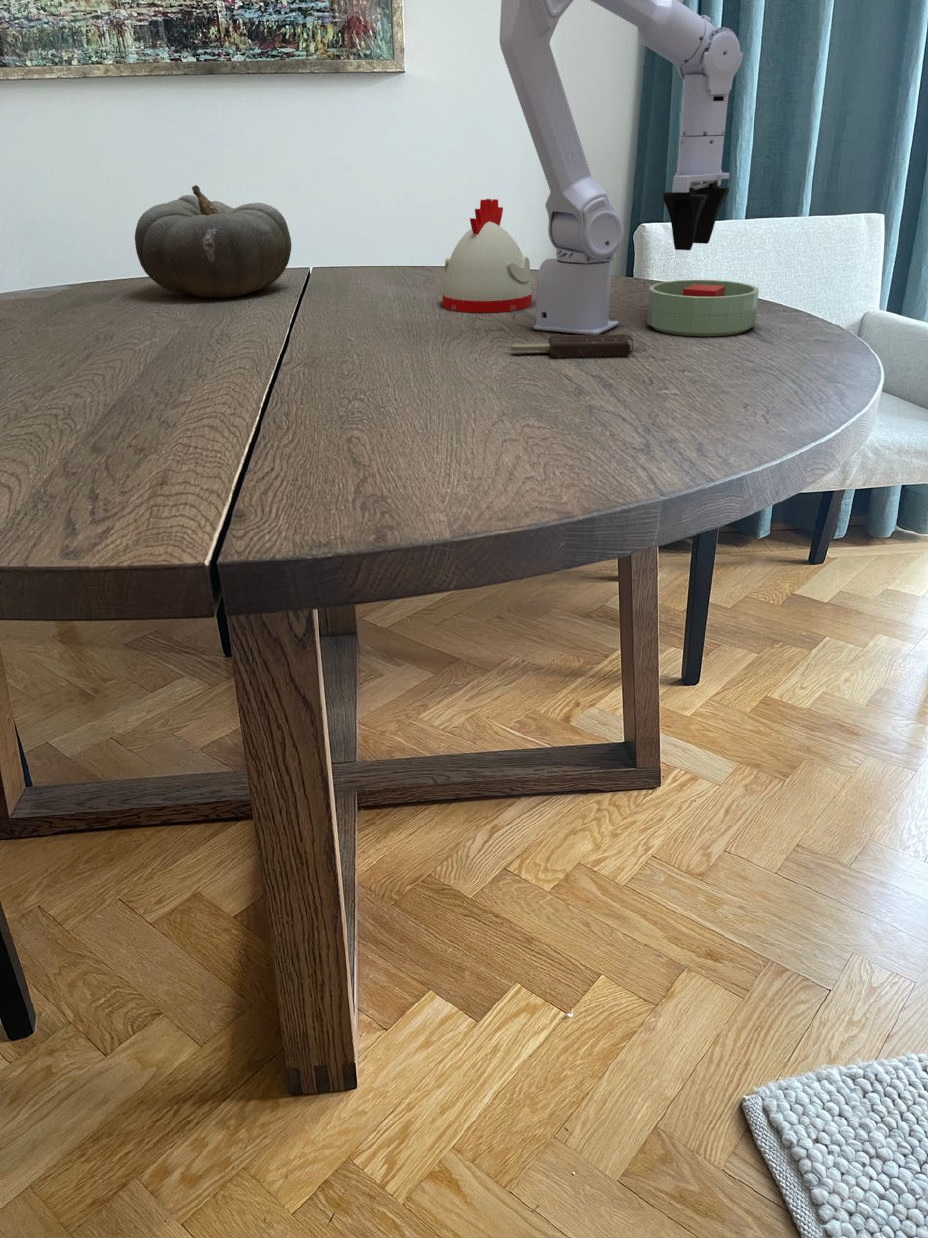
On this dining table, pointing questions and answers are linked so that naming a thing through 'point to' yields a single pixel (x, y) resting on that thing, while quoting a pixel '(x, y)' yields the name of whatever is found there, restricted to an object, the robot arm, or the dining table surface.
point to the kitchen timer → (487, 267)
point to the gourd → (212, 246)
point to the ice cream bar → (583, 346)
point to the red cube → (704, 290)
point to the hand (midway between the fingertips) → (692, 246)
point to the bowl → (702, 309)
